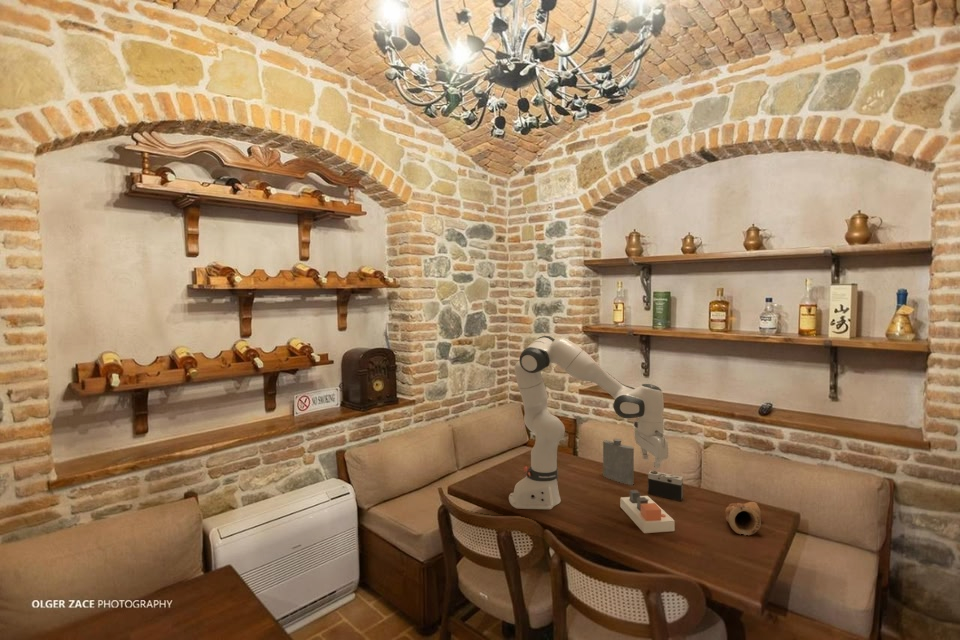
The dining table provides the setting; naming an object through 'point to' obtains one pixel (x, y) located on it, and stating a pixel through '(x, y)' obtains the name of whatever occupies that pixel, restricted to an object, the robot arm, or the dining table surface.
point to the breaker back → (634, 496)
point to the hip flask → (618, 461)
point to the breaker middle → (641, 502)
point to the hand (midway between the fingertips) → (651, 463)
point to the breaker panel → (646, 526)
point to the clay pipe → (744, 517)
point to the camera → (665, 485)
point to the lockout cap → (650, 511)
